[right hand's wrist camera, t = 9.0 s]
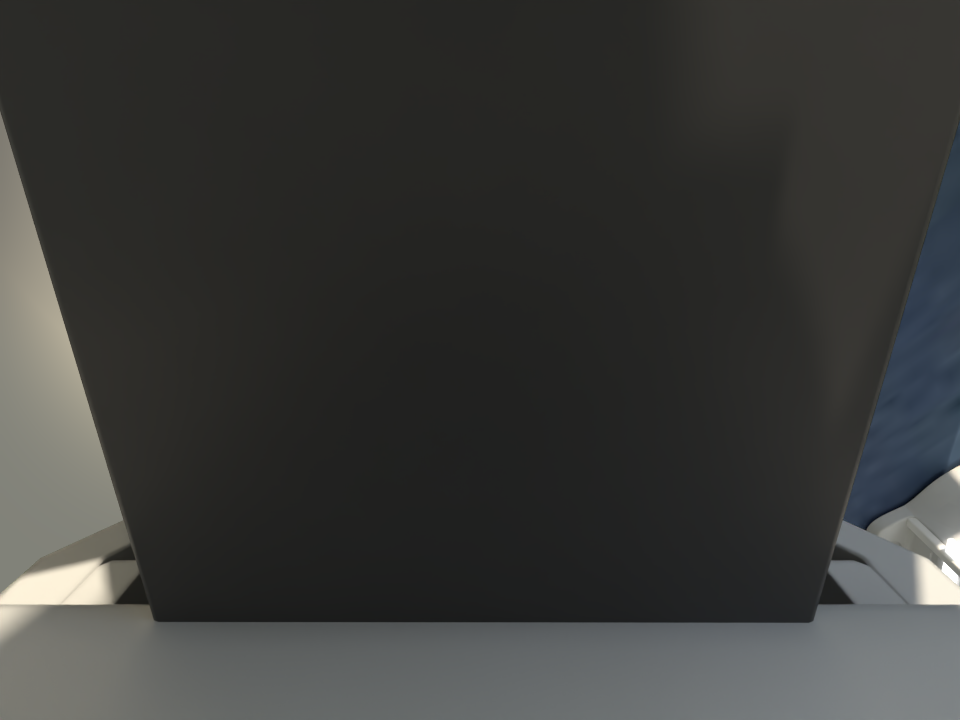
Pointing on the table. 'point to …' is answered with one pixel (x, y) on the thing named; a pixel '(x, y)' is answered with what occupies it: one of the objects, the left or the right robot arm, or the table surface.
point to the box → (482, 290)
